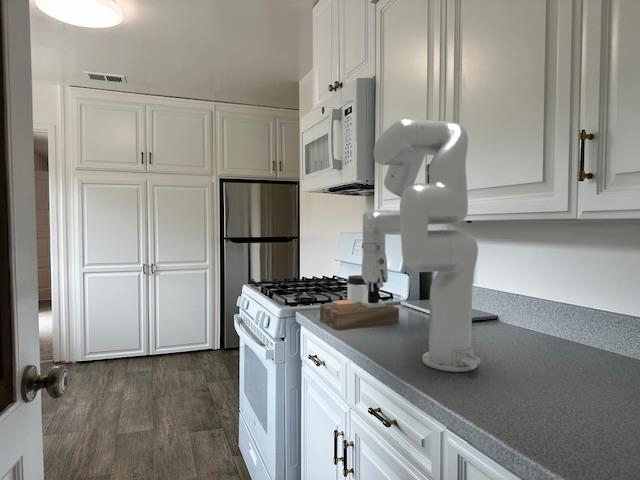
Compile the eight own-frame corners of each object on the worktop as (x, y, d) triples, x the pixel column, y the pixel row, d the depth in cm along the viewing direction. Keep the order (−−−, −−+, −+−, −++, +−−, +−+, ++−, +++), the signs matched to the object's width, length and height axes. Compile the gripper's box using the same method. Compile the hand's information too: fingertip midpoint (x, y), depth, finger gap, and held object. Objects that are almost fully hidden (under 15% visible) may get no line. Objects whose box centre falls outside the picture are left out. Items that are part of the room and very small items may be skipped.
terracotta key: (356, 314, 138) (356, 302, 137) (339, 315, 135) (339, 304, 135) (348, 310, 143) (348, 299, 143) (331, 311, 141) (331, 300, 141)
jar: (358, 304, 169) (358, 274, 168) (374, 307, 163) (374, 276, 163) (342, 308, 163) (343, 276, 162) (359, 311, 157) (359, 279, 156)
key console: (398, 323, 139) (398, 308, 139) (337, 330, 131) (337, 314, 131) (377, 314, 152) (377, 300, 152) (320, 319, 144) (320, 305, 143)
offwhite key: (385, 314, 142) (385, 303, 142) (370, 316, 140) (370, 305, 139) (376, 310, 147) (376, 300, 147) (361, 312, 145) (361, 301, 145)
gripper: (395, 249, 137) (395, 306, 138) (372, 246, 151) (372, 297, 152) (375, 250, 134) (374, 308, 135) (353, 247, 148) (353, 299, 149)
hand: (373, 302), depth 143 cm, fingers closed
